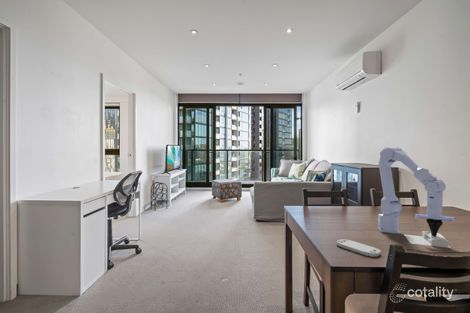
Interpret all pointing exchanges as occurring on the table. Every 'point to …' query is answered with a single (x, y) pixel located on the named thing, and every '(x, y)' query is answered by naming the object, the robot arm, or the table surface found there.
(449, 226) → the table surface
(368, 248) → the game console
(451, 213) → the table surface
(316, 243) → the table surface
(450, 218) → the robot arm
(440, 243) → the white storage tray
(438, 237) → the cover
